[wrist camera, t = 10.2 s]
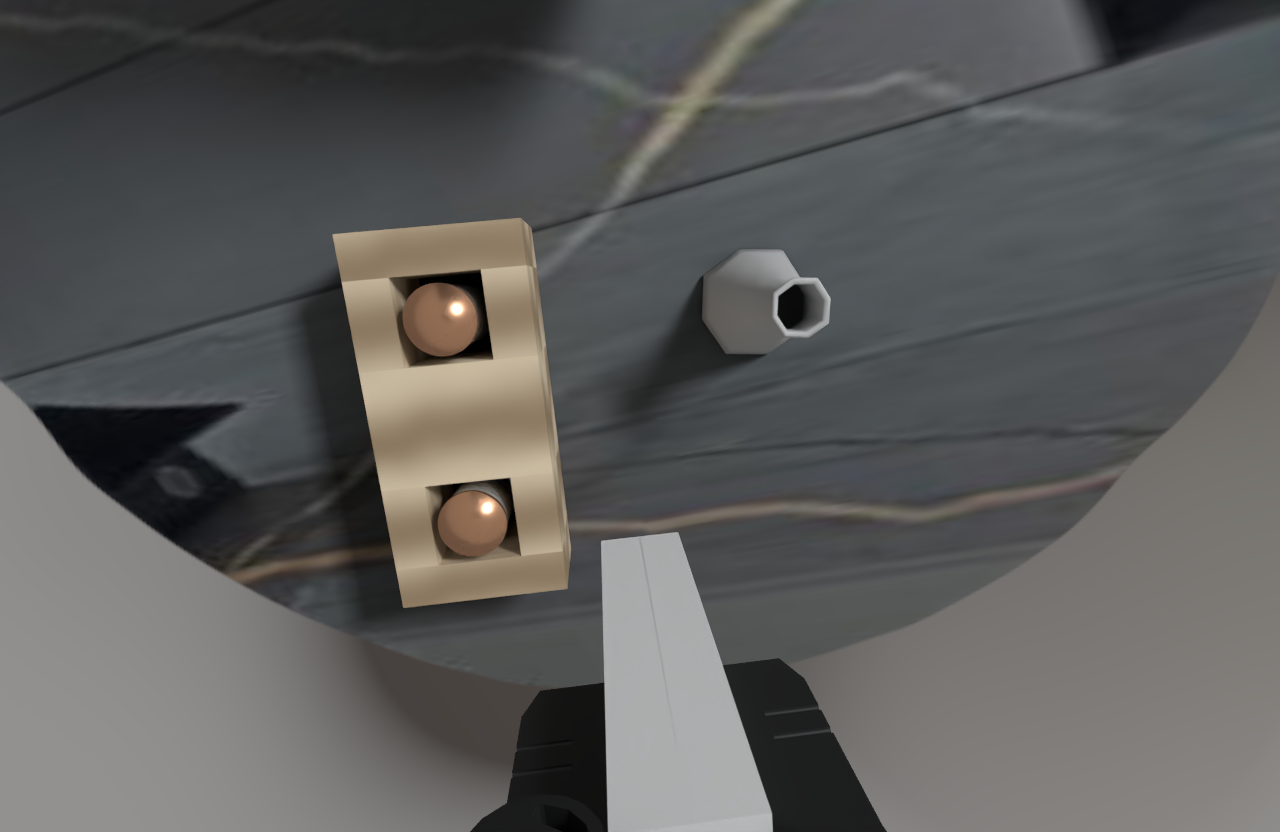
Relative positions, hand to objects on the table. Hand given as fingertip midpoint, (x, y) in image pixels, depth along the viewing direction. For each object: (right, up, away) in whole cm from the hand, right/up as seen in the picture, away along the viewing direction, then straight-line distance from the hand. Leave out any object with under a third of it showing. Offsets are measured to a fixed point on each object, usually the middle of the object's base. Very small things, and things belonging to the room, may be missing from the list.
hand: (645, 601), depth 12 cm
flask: (+7, +11, +30) cm, 33 cm away
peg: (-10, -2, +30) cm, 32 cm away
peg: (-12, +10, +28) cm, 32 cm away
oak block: (-11, +4, +29) cm, 32 cm away
